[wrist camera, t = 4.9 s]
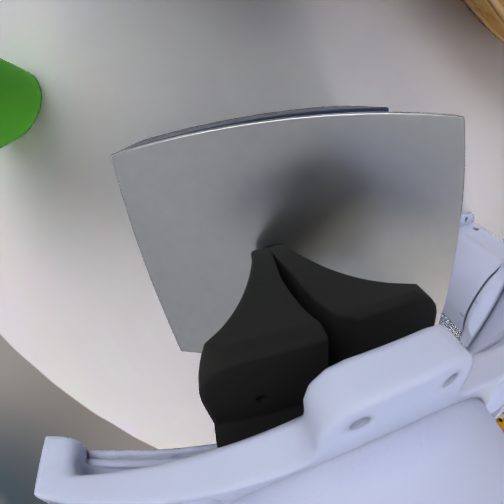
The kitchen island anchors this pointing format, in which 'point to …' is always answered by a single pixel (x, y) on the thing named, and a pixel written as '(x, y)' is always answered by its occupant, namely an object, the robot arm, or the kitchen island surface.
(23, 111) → the cup
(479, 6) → the ceramic bowl
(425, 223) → the thin square panel
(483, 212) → the kitchen island surface
